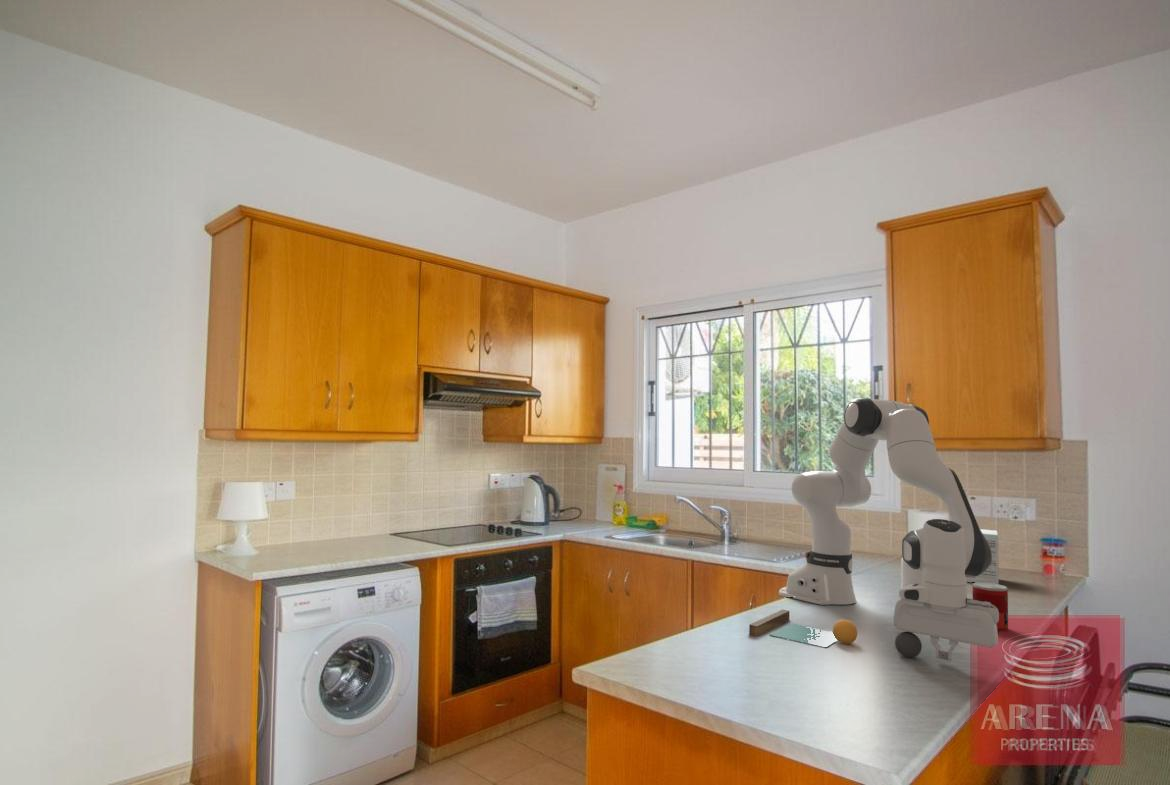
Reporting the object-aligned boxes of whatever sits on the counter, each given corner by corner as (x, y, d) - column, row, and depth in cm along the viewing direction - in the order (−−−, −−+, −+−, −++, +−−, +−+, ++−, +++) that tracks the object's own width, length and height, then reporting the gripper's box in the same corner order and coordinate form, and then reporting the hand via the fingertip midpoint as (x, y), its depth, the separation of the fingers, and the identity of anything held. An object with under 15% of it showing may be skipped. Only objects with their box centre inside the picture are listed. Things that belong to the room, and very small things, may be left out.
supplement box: (956, 574, 247) (955, 526, 248) (998, 579, 241) (997, 530, 242) (955, 580, 236) (954, 530, 237) (999, 586, 229) (998, 534, 230)
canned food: (1013, 632, 173) (1012, 589, 173) (979, 630, 174) (978, 587, 175) (1001, 624, 180) (1000, 583, 181) (968, 622, 182) (968, 581, 182)
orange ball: (829, 643, 160) (829, 620, 160) (837, 638, 164) (837, 615, 164) (853, 648, 156) (853, 624, 156) (860, 643, 160) (860, 619, 161)
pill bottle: (927, 594, 213) (926, 547, 214) (931, 600, 206) (930, 551, 207) (899, 592, 216) (899, 545, 217) (903, 597, 208) (902, 549, 209)
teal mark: (769, 635, 165) (769, 634, 165) (792, 624, 176) (792, 623, 176) (826, 648, 156) (826, 647, 156) (846, 635, 167) (846, 634, 167)
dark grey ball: (891, 656, 151) (891, 632, 151) (898, 651, 155) (898, 627, 155) (918, 662, 147) (918, 637, 148) (924, 656, 151) (924, 632, 152)
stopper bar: (749, 634, 165) (749, 624, 165) (782, 618, 180) (782, 609, 181) (756, 636, 164) (756, 626, 164) (789, 620, 179) (789, 610, 179)
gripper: (1000, 600, 144) (1001, 666, 143) (898, 584, 156) (898, 644, 156) (996, 606, 139) (997, 674, 138) (891, 589, 152) (891, 651, 151)
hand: (944, 658), depth 147 cm, fingers closed
